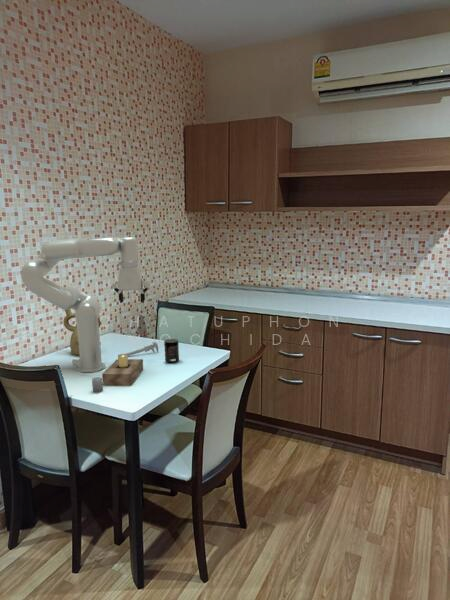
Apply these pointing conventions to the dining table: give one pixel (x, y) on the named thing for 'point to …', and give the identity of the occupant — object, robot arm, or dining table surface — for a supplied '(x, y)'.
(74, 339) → the ceramic vessel
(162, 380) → the dining table surface
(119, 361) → the long pin
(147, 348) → the caliper
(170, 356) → the supplement container
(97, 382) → the short pin
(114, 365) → the hole block
